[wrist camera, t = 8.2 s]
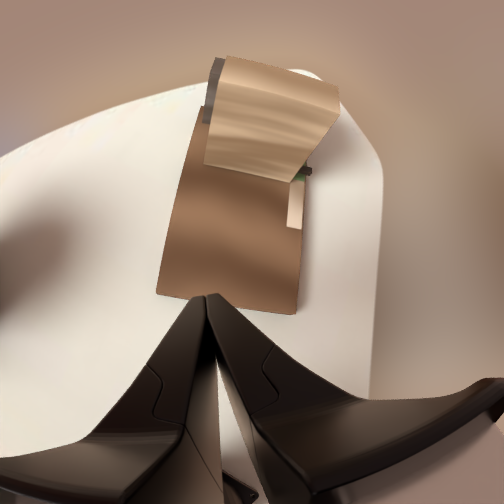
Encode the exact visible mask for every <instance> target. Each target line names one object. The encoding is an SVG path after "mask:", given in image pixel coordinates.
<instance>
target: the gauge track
mask: <svg viewBox="0 0 504 504" xmlns="http://www.w3.org/2000/svg"><path fill="white" fill-rule="evenodd" d="M225 60H226V59H221V58H215V60H214V63H213V66H212V69H211V71H210V75H209V81H208V87H207V93H206V99H205V105H204V106H201V108H200V111H199V114H198V117H197V121H196V124H195V127H194V131H193V134H192V137H191V141H190V144H189V148H188V151H187V155H186V159H185V162H184V166H183V170H182V174H181V177H180V181H179V185H178V189H177V193H176V197H175V201H174V206H173V210H172V214H171V218H170V223H169V227H168V232H167V237H166V241H165V246H164V251H163V256H162V261H161V266H160V271H159V277H158V282H157V288H156V293H157V294H159V295H164V296H169V297H175V298H181V299H186V300H190V299H191V297H195V296H201V295H204V296H205V298H206V295H208V294H214V293H219V294H220V295H222V296H223V297H224V298H225V299H226V300H227V301H228V302H229V303H230V304H231V305H232V306H234V307H236V308H243V309H249V310H257V311H264V312H271V313H279V314H287V315H293V314H296V306H297V296H298V285H299V274H300V261H301V249H302V235H303V220H304V203H305V184H306V175H304V174H301V173H296V175H295V176H294V177H293V179H292V180H291V181H290V183H288V182H284V181H280V180H275V179H271V178H267V177H263V176H258V175H254V174H249V173H244V172H240V171H235V170H230V169H225V168H220V167H215V166H210V165H205V164H203V163H204V157H205V151H206V145H207V139H208V134H209V128H210V123H211V117H212V112H213V107H214V102H215V97H216V92H217V87H218V82H219V79H220V75H221V72H222V69H223V66H224V63H225ZM306 161H307V160H306ZM306 161H305V162H304V164H303V166H306Z"/></svg>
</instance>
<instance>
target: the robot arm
mask: <svg viewBox="0 0 504 504" xmlns="http://www.w3.org/2000/svg"><path fill="white" fill-rule="evenodd" d="M216 359H217V361H216ZM217 363H218V367H219V371H220V374H221V377H222V380H223V383H224V386H225V389H226V392H227V395H228V397H229V400H230V403H231V406H232V409H233V412H234V415H235V417H236V420H237V423H238V426H239V428H240V431H241V434H242V437H243V439H244V442H245V445H246V447H247V450H248V452H249V455H250V458H251V460H252V463H253V465H254V468H255V470H256V473H257V475H258V478H259V480H260V482H261V485H262V487H263V490H264V492H265V494H266V497H267V499H268V502H269V504H504V435H503V434H502V432H501V431H500V429H499V428H498V427H497V426H496V424H495V422H496V421H497V420H498V419H499V418H500V416H501V415H502V414H503V413H504V378H484V379H481V380H479V381H477V382H475V383H474V384H472V385H471V386H469V387H467V388H466V389H464V390H462V391H460V392H457V393H454V394H451V395H447V396H442V397H435V398H423V399H400V400H367V399H362V398H359V397H356V396H354V395H351V394H349V393H347V392H345V391H344V390H342V389H340V388H339V387H337V386H335V385H334V384H332V383H330V382H329V381H327V380H325V379H324V378H322V377H320V376H319V375H317V374H315V373H314V372H312V371H311V370H309V369H308V368H306V367H305V366H303V365H302V364H300V363H299V362H297V361H296V360H294V359H293V358H292V357H291V356H289V355H288V354H287V353H286V352H284V351H283V350H282V349H281V348H280V347H279V346H278V345H276V344H275V343H274V342H273V341H272V340H270V339H269V338H268V337H267V336H266V335H265V334H264V333H262V332H261V331H260V330H259V329H258V328H257V327H256V326H255V325H253V324H252V323H251V322H250V321H249V320H248V319H247V318H246V317H245V316H243V315H242V314H241V313H240V312H239V311H238V310H237V309H236V308H235V307H234V306H232V305H231V304H230V303H229V302H228V301H227V300H226V299H225V298H224V297H223V296H222V295H220V294H219V293H214V294H208V295H206V298H205V296H204V295H201V296H195V297H191V299H190V300H189V301H188V303H187V304H186V306H185V307H184V309H183V310H182V312H181V313H180V314H179V316H178V317H177V319H176V320H175V322H174V323H173V325H172V326H171V327H170V329H169V330H168V332H167V333H166V335H165V336H164V338H163V339H162V341H161V342H160V344H159V345H158V347H157V348H156V350H155V351H154V352H153V354H152V355H151V357H150V358H149V360H148V361H147V363H146V365H145V366H144V367H143V369H142V370H141V372H140V373H139V375H138V376H137V377H136V379H135V380H134V381H133V383H132V384H131V386H130V387H129V388H128V389H127V391H126V392H125V393H124V394H123V396H122V397H121V398H120V399H119V400H118V402H117V403H116V404H115V405H114V406H113V407H112V409H111V410H110V411H109V412H108V413H107V414H106V416H105V417H104V418H103V419H102V420H101V421H100V423H99V424H98V425H97V426H96V427H95V428H94V429H93V430H92V431H91V433H89V434H88V435H87V436H86V437H84V438H83V439H81V440H79V441H77V442H75V443H72V444H68V445H64V446H61V447H57V448H52V449H48V450H44V451H40V452H35V453H30V454H25V455H20V456H14V457H4V458H0V504H252V503H253V502H254V501H255V500H256V499H257V498H258V497H259V494H258V492H257V491H256V490H255V489H253V488H251V487H249V486H248V485H246V484H244V483H243V482H241V481H239V480H238V479H236V478H234V477H233V476H231V475H230V474H228V473H227V472H225V471H223V470H222V467H221V450H220V431H219V408H218V379H217ZM251 494H254V495H253V496H250V495H251Z"/></svg>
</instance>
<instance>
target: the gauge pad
mask: <svg viewBox="0 0 504 504" xmlns="http://www.w3.org/2000/svg"><path fill="white" fill-rule="evenodd" d="M339 116H340V102H339V92H338V87H337V86H334V85H332V84H329V83H326V82H323V81H320V80H317V79H314V78H311V77H308V76H305V75H302V74H299V73H295V72H292V71H288V70H285V69H281V68H278V67H274V66H270V65H266V64H263V63H258V62H254V61H250V60H246V59H241V58H236V57H231V56H227V57H226V60H225V63H224V66H223V69H222V72H221V75H220V79H219V82H218V87H217V92H216V97H215V102H214V107H213V112H212V117H211V123H210V128H209V134H208V139H207V145H206V151H205V157H204V163H203V164H205V165H210V166H215V167H220V168H225V169H230V170H235V171H240V172H244V173H249V174H254V175H258V176H263V177H267V178H271V179H275V180H280V181H284V182H288V183H290V181H291V180H292V179H293V177H294V176H295V175H296V173H301V174H304V175H308V176H310V174H311V173H312V168H310V167H307V166H303V164H304V162H305V161H306V160H307V158H308V157H309V156H310V154H311V153H312V152H313V150H314V149H315V148H316V146H317V145H318V144H319V142H320V141H321V140H322V138H323V137H324V136H325V134H326V133H327V132H328V130H329V129H330V128H331V126H332V125H333V124H334V122H335V121H336V120H337V118H338V117H339Z"/></svg>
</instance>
